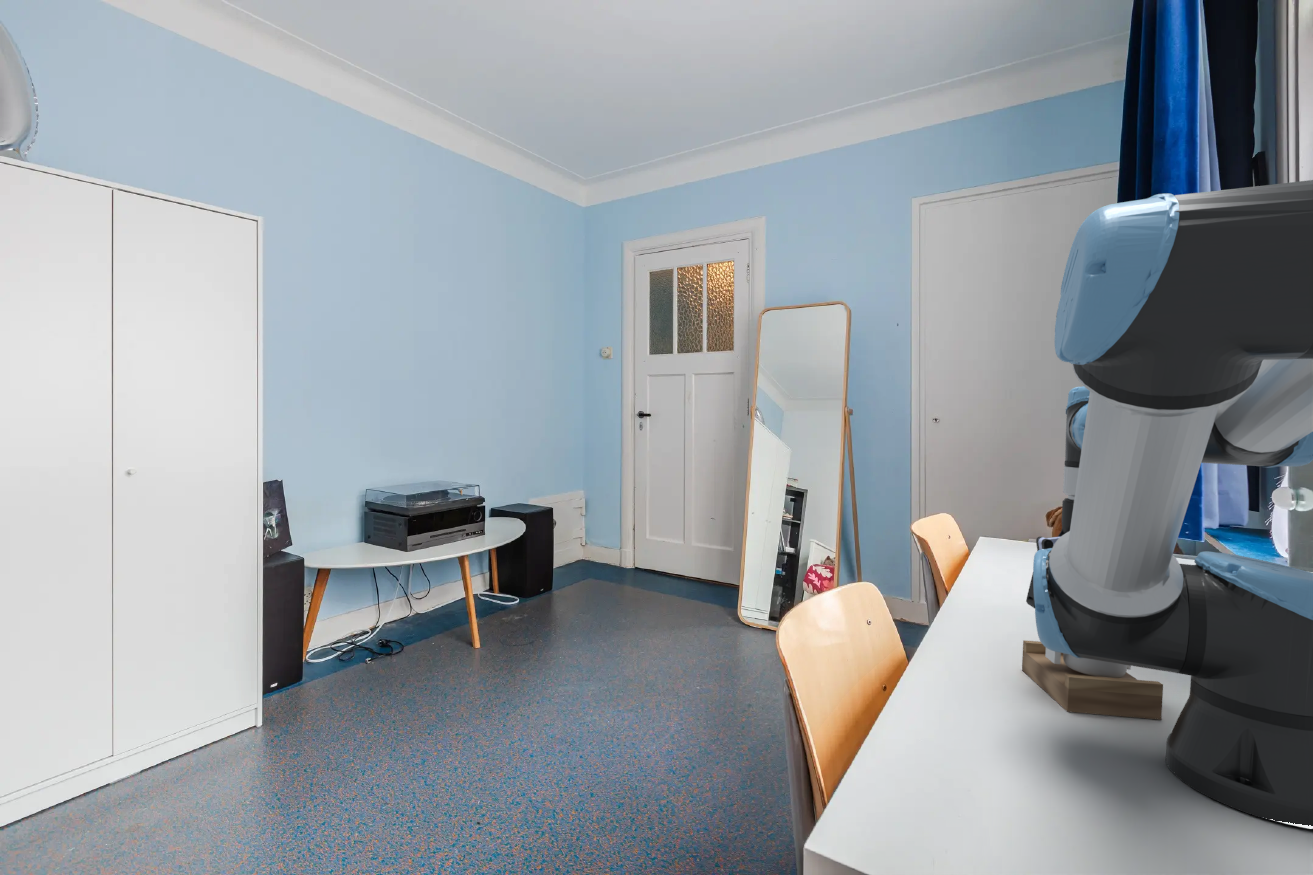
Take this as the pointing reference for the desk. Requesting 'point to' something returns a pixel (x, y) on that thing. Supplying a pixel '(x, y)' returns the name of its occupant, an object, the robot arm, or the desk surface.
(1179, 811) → the desk surface
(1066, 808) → the desk surface
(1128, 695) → the wooden tray
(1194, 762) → the robot arm
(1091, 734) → the desk surface
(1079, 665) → the cup
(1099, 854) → the desk surface
